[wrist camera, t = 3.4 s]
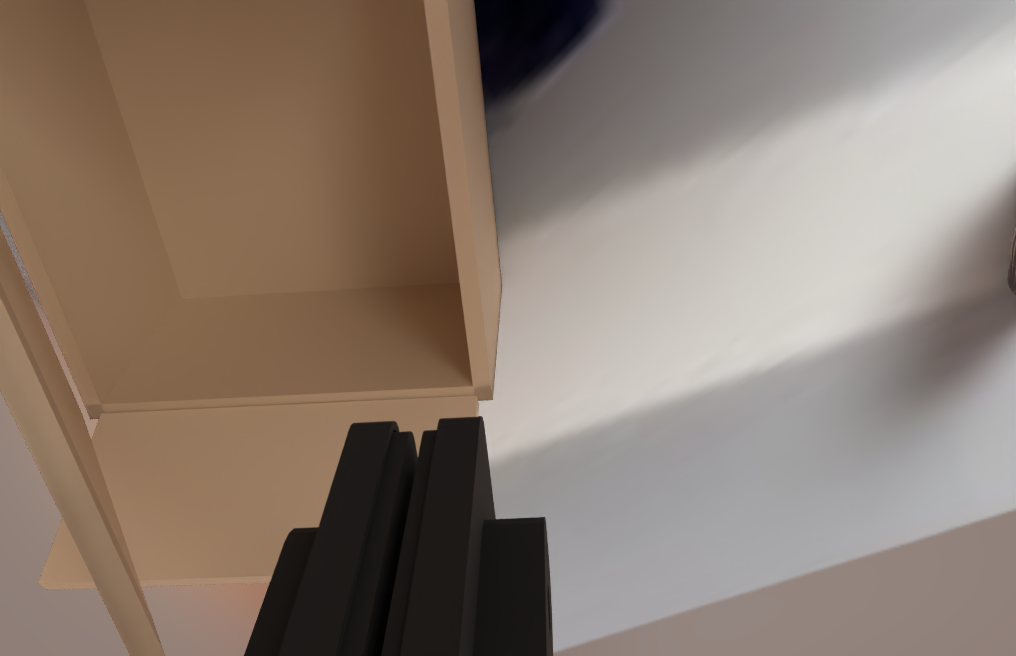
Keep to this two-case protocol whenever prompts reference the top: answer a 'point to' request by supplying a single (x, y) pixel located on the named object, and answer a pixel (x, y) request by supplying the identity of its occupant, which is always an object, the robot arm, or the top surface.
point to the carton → (248, 249)
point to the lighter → (1012, 265)
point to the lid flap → (67, 457)
